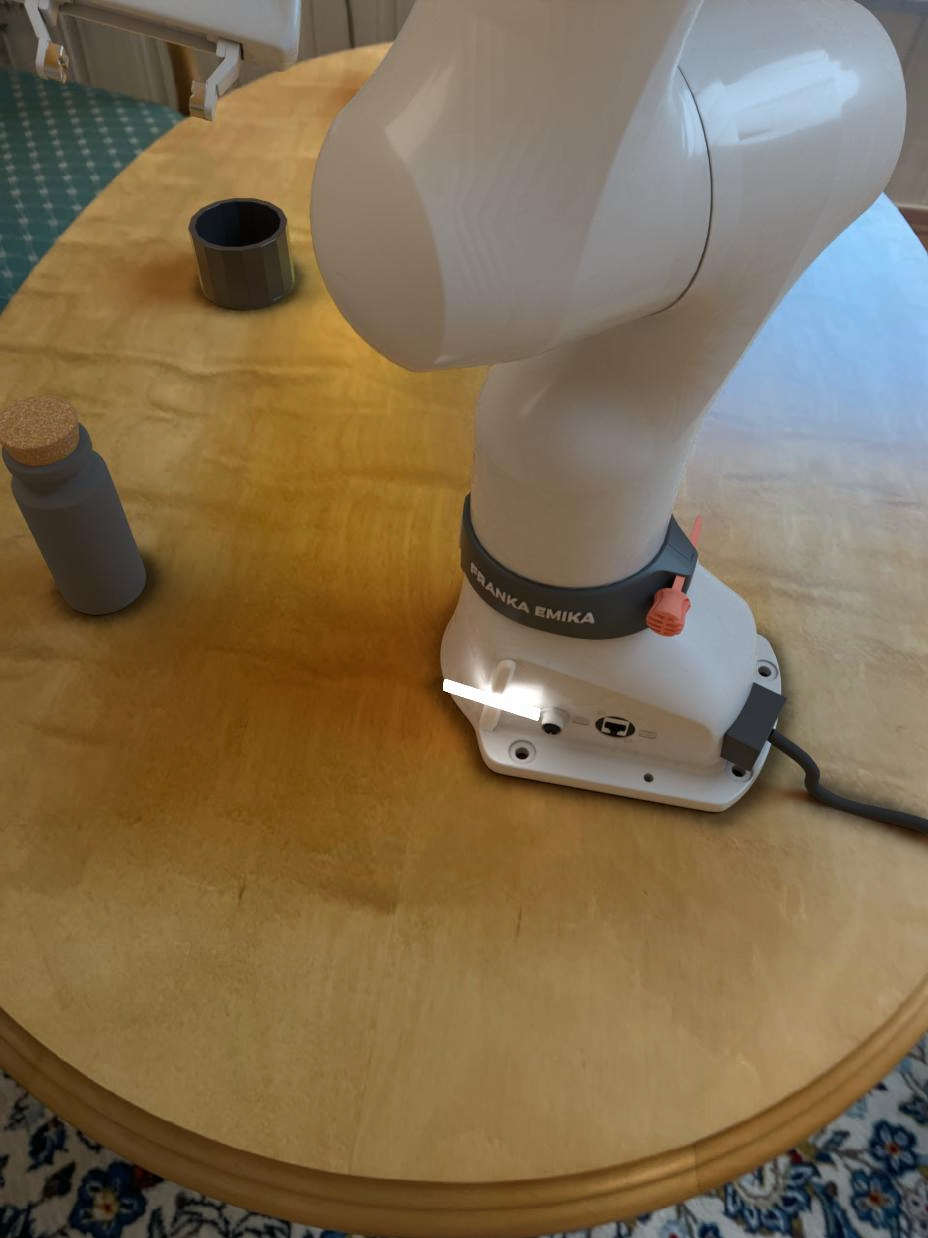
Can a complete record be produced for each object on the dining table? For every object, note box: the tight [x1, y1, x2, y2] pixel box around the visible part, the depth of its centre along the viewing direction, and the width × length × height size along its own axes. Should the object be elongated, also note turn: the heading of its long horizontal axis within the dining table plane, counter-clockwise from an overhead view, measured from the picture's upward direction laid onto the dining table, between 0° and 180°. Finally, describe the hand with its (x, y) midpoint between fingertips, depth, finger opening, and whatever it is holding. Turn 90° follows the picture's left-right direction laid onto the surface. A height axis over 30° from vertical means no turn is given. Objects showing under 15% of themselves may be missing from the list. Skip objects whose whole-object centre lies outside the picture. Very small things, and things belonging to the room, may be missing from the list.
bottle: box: [0, 394, 147, 616], centre depth 63 cm, size 6×6×15 cm
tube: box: [187, 197, 296, 311], centre depth 89 cm, size 9×9×6 cm
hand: (126, 96), depth 63 cm, fingers open, 8 cm apart
